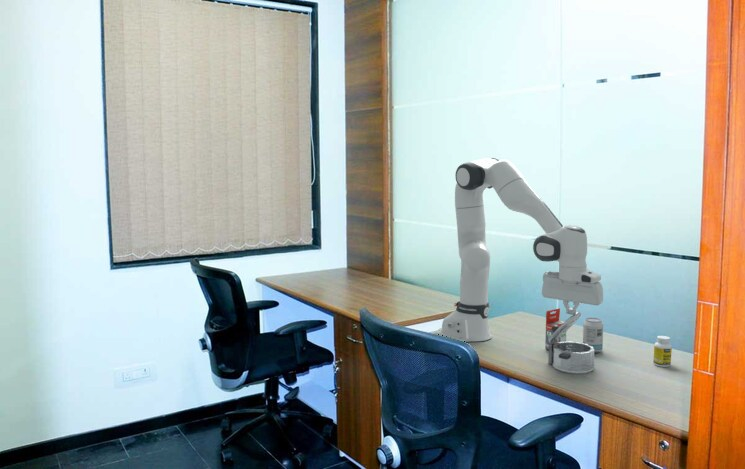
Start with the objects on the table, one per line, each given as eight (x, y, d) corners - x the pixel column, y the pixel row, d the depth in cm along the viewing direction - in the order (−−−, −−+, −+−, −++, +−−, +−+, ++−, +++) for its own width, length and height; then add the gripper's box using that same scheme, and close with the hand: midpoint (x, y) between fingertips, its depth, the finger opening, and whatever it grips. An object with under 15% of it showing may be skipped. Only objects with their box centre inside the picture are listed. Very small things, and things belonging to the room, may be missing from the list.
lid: (543, 349, 203) (535, 341, 205) (561, 339, 214) (553, 331, 216) (571, 319, 195) (563, 311, 197) (588, 310, 207) (580, 302, 208)
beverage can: (600, 348, 224) (601, 317, 223) (604, 354, 217) (605, 322, 216) (580, 347, 225) (581, 316, 224) (584, 353, 218) (585, 321, 217)
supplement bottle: (663, 368, 202) (665, 340, 201) (649, 363, 207) (651, 336, 206) (674, 365, 205) (675, 338, 203) (660, 361, 209) (661, 334, 208)
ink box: (566, 347, 226) (567, 309, 224) (552, 351, 221) (553, 313, 220) (558, 345, 229) (559, 308, 227) (544, 349, 224) (545, 311, 223)
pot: (539, 368, 203) (540, 349, 202) (560, 355, 216) (560, 337, 215) (582, 378, 194) (583, 357, 193) (601, 364, 207) (602, 344, 206)
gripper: (539, 271, 206) (538, 310, 207) (599, 279, 192) (597, 320, 194) (547, 269, 210) (545, 307, 212) (605, 276, 197) (604, 316, 199)
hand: (570, 313), depth 203 cm, fingers closed
